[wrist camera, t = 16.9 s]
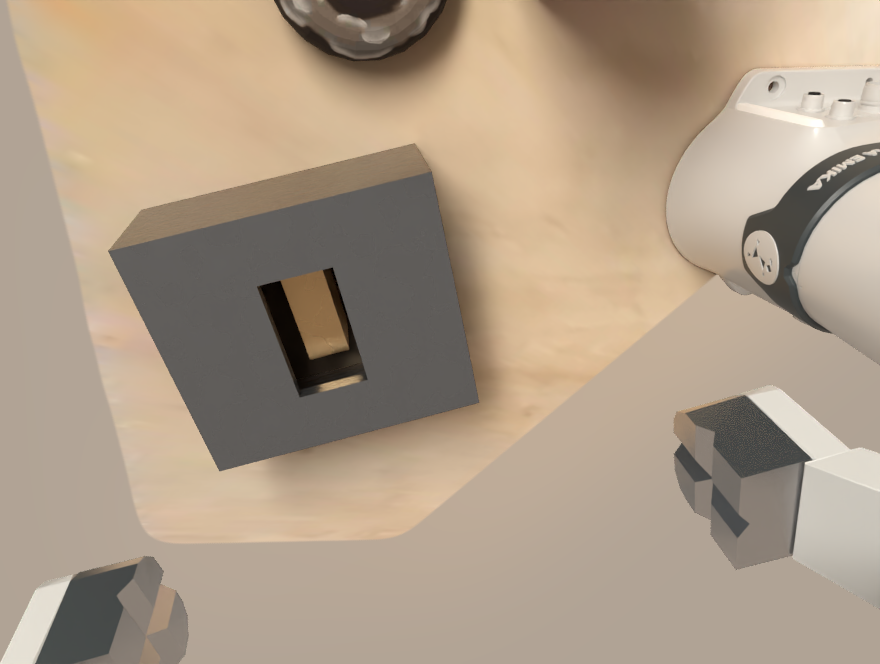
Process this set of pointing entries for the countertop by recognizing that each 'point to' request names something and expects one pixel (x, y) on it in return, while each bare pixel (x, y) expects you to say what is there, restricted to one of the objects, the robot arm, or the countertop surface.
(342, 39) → the donut
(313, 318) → the brown wooden block
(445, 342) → the post box
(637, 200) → the countertop surface
